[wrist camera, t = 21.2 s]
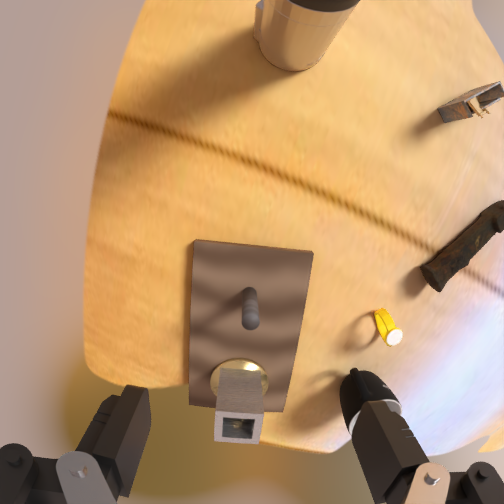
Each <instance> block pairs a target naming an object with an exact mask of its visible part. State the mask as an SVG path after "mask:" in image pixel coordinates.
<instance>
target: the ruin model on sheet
mask: <svg viewBox="0 0 504 504" xmlns="http://www.w3.org/2000/svg"><path fill="white" fill-rule="evenodd" d="M501 97H504V88H503V86H502V84H501V82H500V81H499V82H496V83H492V84H489V85H485V86H482V87H479V88H476V89H473V90H471V91H469V92H467V93H466V94H464V95H462V96H460V97H458V98H456V99H454V100H452V101H450V102H449V103H447V104H445V105H443V106H441V107H439V108H437V109H438V111H439V113H440V115H441V117H442V119H443V121H444V123H447V122H451V121H456V120H460V119H465V118H470V117H473V116H472V114H474V113H476V114H477V115H478V116H481V118H483V117H482V115H484V114H485V113H488V114H490V113H489V112H488V111H487V110H486V108H487V107H489V106H490V105H492V104H494V103H495V102H497V101H499V100H501V99H500V98H501ZM466 102H467V103H468V104H469V105H470V106H469V107H468V105H467V103H466Z"/></svg>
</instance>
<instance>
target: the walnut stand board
mask: <svg viewBox="0 0 504 504" xmlns="http://www.w3.org/2000/svg"><path fill="white" fill-rule="evenodd" d="M313 255H314V253H313V252H312V251H306V250H297V249H287V248H277V247H267V246H258V245H248V244H238V243H228V242H218V241H208V240H198V239H196V240H195V241H194V254H193V271H192V290H191V313H190V346H189V405H195V406H203V407H211V408H216V402H217V396H216V395H215V394H214V393H213V391H212V389H211V385H210V380H211V375H212V372H213V370H214V368H215V367H216V366H217V365H218V364H220V363H221V362H223V361H225V360H227V359H231V358H247V359H250V360H253V361H255V362H257V363H258V364H260V365H261V366H262V367H263V368H264V369H265V371H266V373H267V376H268V389H267V391H266V393H265V395H264V396H263V408H264V412H283V410H284V406H285V402H286V397H287V393H288V388H289V384H290V379H291V375H292V370H293V365H294V360H295V355H296V351H297V346H298V340H299V335H300V330H301V325H302V320H303V314H304V309H305V303H306V297H307V292H308V286H309V280H310V274H311V268H312V261H313Z"/></svg>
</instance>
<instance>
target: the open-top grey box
mask: <svg viewBox="0 0 504 504" xmlns="http://www.w3.org/2000/svg"><path fill="white" fill-rule="evenodd" d="M263 417H264V408H263V396H262V384H261V372H260V370H245V369H233V368H222V367H220V376H219V384H218V393H217V402H216V411H215V431H214V432H215V433H214V441H221V442H235V443H251V444H259V439H260V434H261V428H262V423H263Z"/></svg>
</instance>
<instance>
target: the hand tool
mask: <svg viewBox="0 0 504 504" xmlns="http://www.w3.org/2000/svg"><path fill="white" fill-rule="evenodd" d="M503 230H504V200H501V201H498V202H496V203H494V204H493V205H491V206H490V207H489V208H487V209H486V210H484V211H483V212H481V213H480V218H479V219H478V220H477V221H476V222H475V223H474V224H473V225H472V226H471V227H470V228H468V229H467V230H466V231H465V232H464V233H463V234H462V235H461V236H460V237H459V238H458V239H457V240H455V241H454V242H453V243H452V244H450V245H449V246H448V247H447V248H446V249H445V250H444V251H443V252H442V253H441V254H439V256H438V257H436V258H435V259H434V260H433V261H432V262H430V263H429V264H426V265H423V264H422V265H421V267H420V268H421V270H422V272H423V276H424V277H425V279H426V281H427V282H428V283H429V285H430V286H431V287H432V288H433V289H435V290H436V291H437V292H441V291H442V289H443V288H444V286H445V284H446V283H447V281H448V280H449V279H450V278H451V277H453V276H454V275H455V273H457V272H458V271H459V270H460V269H462V268H464V267H465V266H468V264H469V261H470V259H471V258H473V256H474V255H475V254H476V253H477V252H478V251H479V250H480V249H481V248H482V247H483V246H484V245H485V244H486V243H487V242H488V241H489V240H490V238H491V237H492V236H493V235H495V233H496V232H498V233H501V232H502V231H503Z"/></svg>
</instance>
